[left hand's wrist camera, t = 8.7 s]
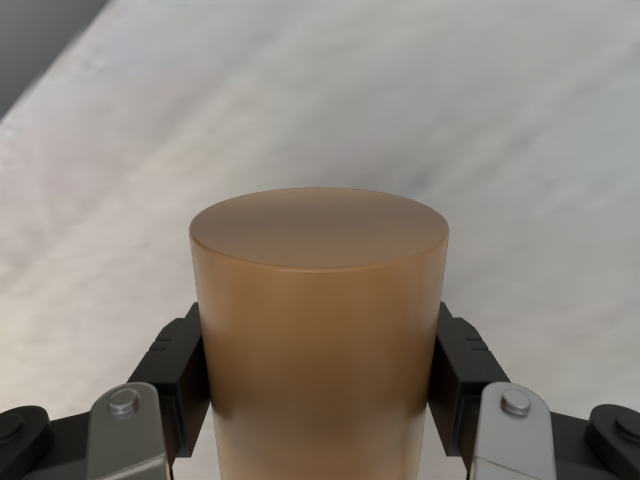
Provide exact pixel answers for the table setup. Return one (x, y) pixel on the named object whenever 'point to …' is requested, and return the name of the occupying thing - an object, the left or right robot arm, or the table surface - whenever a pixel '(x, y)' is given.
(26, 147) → the table surface
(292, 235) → the rod
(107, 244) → the table surface
